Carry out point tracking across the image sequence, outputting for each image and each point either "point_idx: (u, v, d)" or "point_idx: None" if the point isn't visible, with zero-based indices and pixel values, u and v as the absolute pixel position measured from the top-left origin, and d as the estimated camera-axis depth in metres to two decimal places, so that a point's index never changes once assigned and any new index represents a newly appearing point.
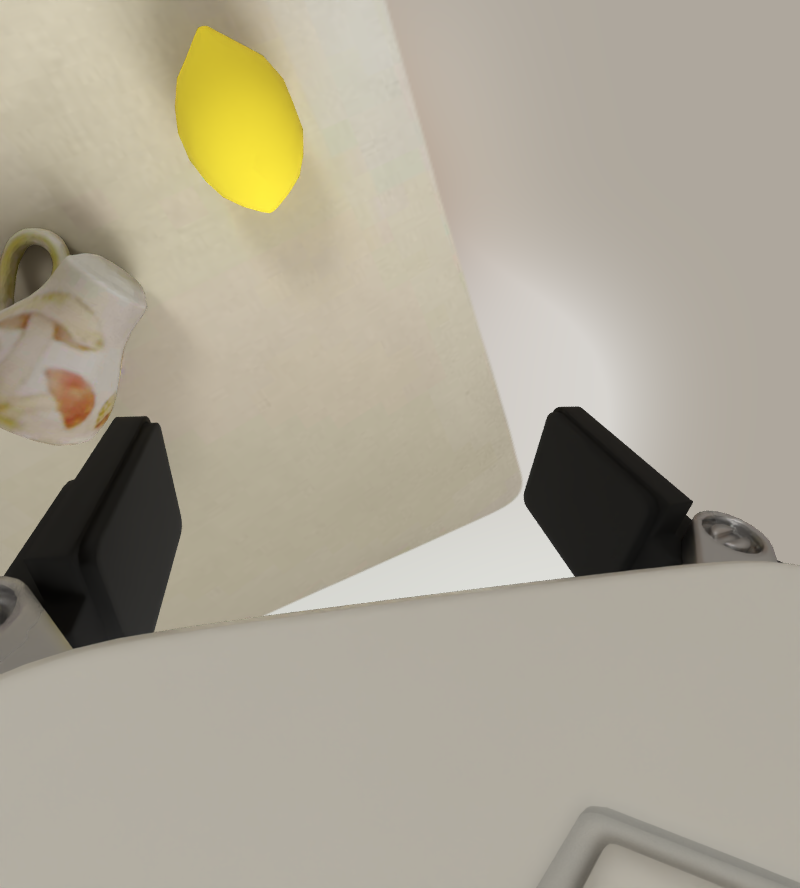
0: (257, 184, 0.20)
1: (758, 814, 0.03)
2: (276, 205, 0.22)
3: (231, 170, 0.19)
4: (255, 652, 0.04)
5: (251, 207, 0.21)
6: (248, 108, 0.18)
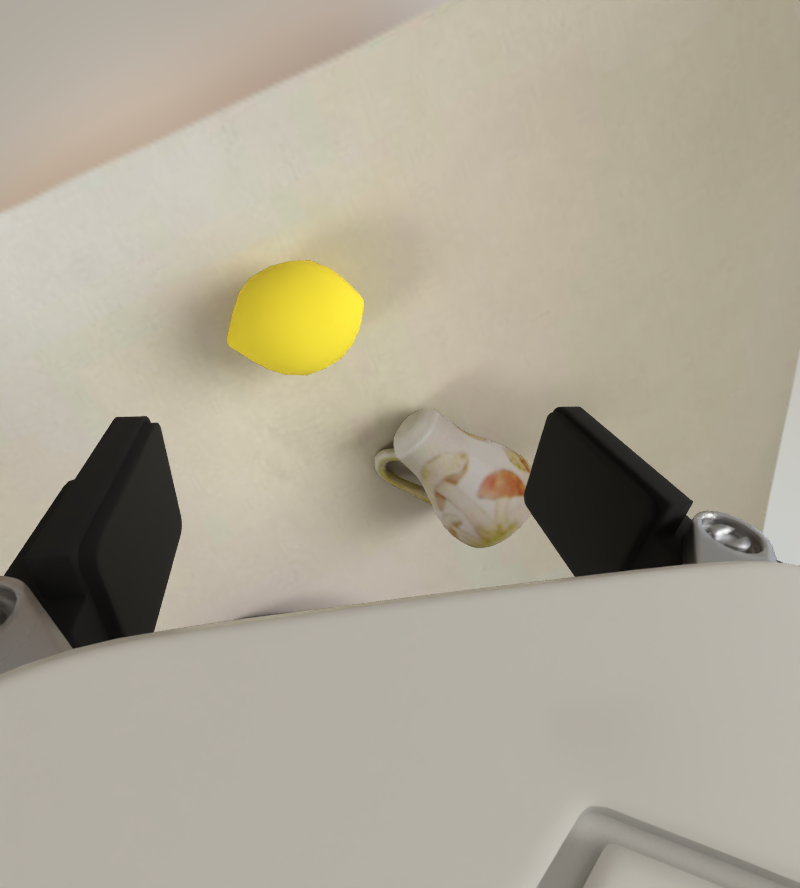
0: (342, 321, 0.20)
1: (758, 814, 0.03)
2: (357, 296, 0.21)
3: (332, 344, 0.21)
4: (255, 652, 0.04)
5: (360, 321, 0.22)
6: (283, 326, 0.19)
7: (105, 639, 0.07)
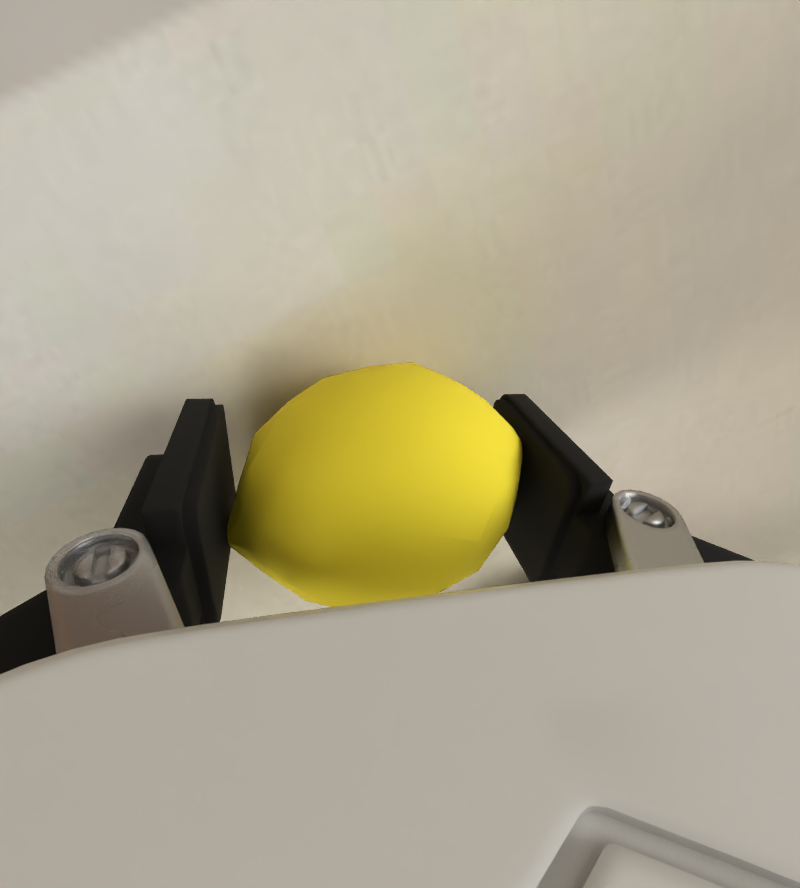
0: (499, 516, 0.09)
1: (758, 814, 0.03)
2: (516, 440, 0.10)
3: (472, 564, 0.09)
4: (255, 652, 0.04)
5: None
6: (368, 553, 0.08)
7: (196, 590, 0.07)
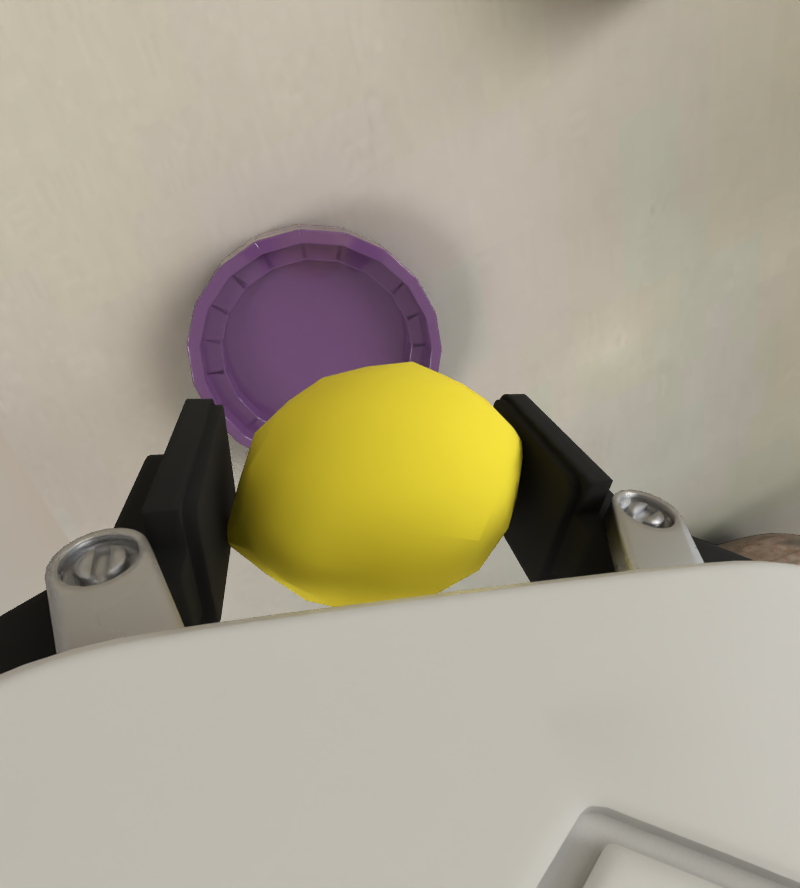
0: (500, 515, 0.09)
1: (758, 814, 0.03)
2: (517, 440, 0.10)
3: (473, 564, 0.09)
4: (255, 652, 0.04)
5: None
6: (368, 553, 0.08)
7: (196, 590, 0.07)
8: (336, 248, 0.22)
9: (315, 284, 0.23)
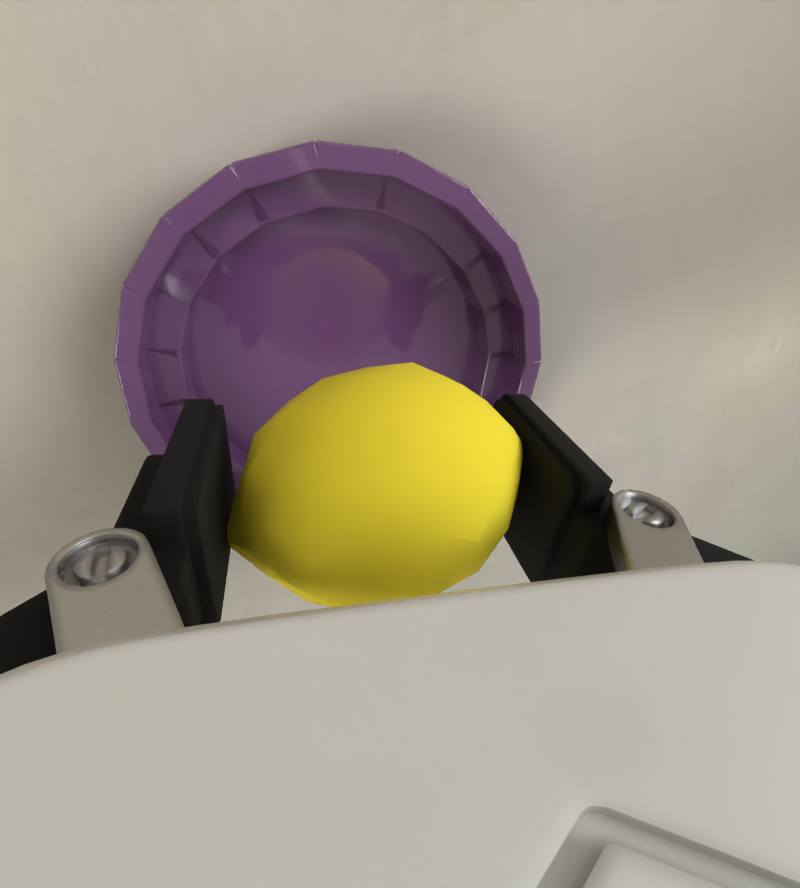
0: (500, 516, 0.09)
1: (758, 814, 0.03)
2: (517, 440, 0.10)
3: (473, 564, 0.09)
4: (255, 652, 0.04)
5: None
6: (368, 554, 0.08)
7: (196, 590, 0.07)
8: (378, 186, 0.12)
9: (338, 254, 0.14)
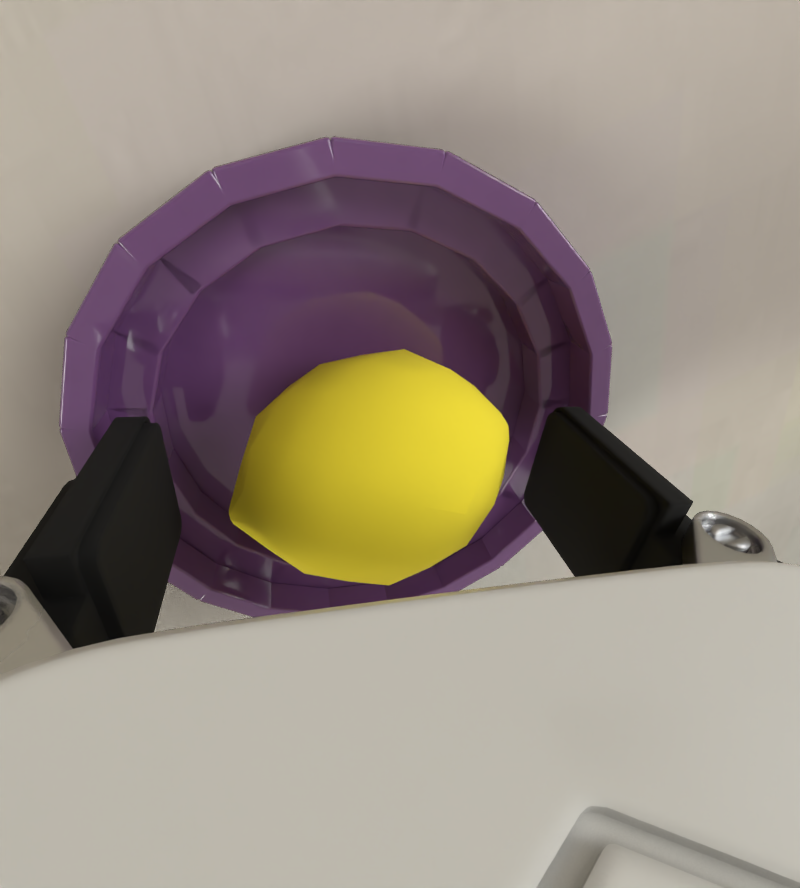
0: (485, 492, 0.09)
1: (758, 814, 0.03)
2: (503, 423, 0.10)
3: (461, 538, 0.09)
4: (255, 652, 0.04)
5: None
6: (361, 523, 0.08)
7: (105, 639, 0.07)
8: (411, 198, 0.09)
9: (355, 284, 0.11)
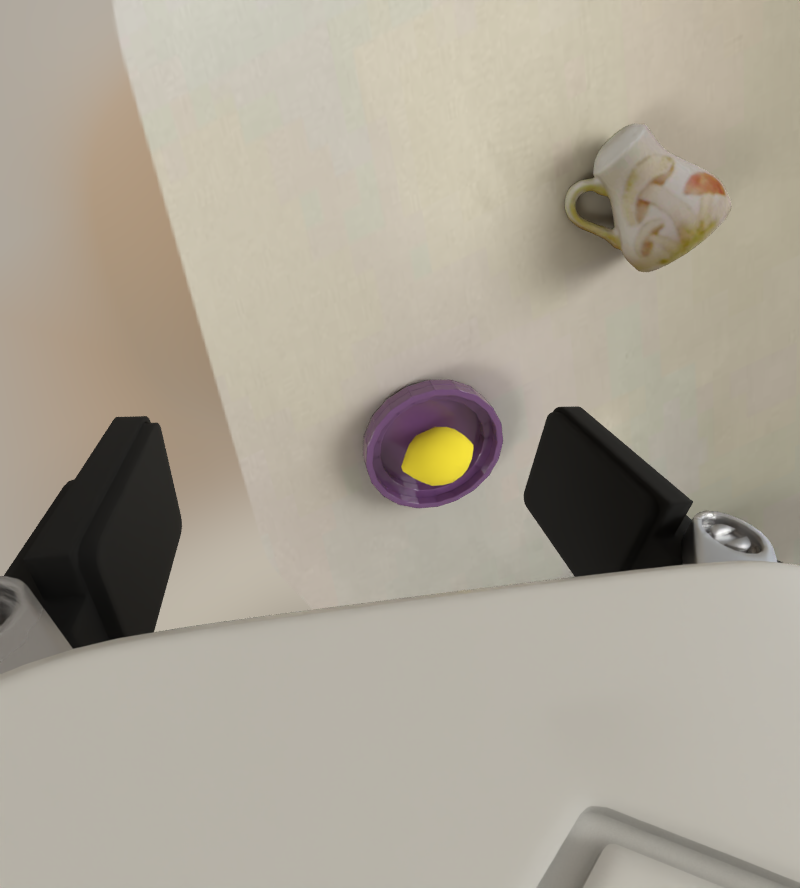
0: (466, 461, 0.39)
1: (758, 814, 0.03)
2: (471, 445, 0.40)
3: (460, 472, 0.39)
4: (255, 652, 0.04)
5: None
6: (439, 467, 0.38)
7: (105, 639, 0.07)
8: None
9: (432, 407, 0.41)
